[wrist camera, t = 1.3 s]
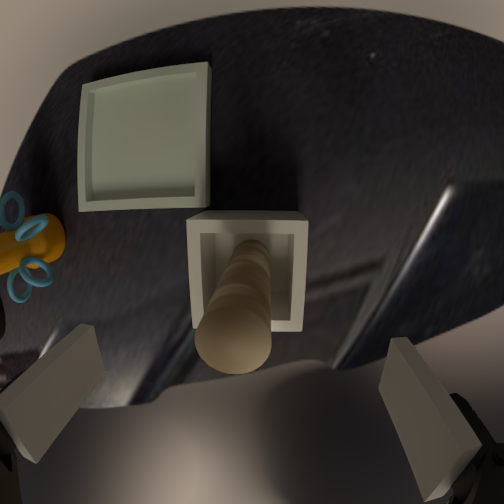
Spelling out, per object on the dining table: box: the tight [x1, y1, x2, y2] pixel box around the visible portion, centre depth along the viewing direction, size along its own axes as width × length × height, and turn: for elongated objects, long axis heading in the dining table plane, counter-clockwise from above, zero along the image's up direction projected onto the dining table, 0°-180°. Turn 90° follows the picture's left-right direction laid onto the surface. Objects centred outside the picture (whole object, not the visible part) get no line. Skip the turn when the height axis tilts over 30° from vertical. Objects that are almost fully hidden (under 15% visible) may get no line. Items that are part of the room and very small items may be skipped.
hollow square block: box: [187, 210, 308, 331], centre depth 26 cm, size 9×9×7 cm
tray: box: [78, 62, 212, 212], centre depth 26 cm, size 14×14×2 cm
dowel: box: [195, 239, 271, 374], centre depth 21 cm, size 4×4×16 cm
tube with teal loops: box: [0, 191, 66, 303], centre depth 23 cm, size 12×10×15 cm
